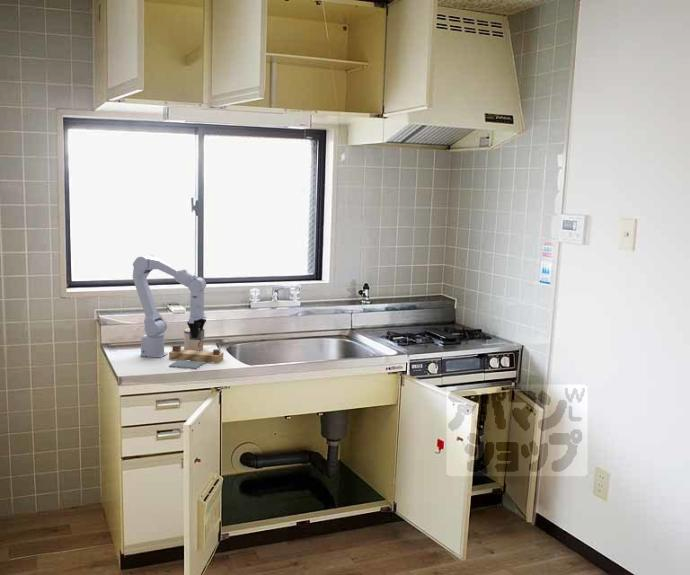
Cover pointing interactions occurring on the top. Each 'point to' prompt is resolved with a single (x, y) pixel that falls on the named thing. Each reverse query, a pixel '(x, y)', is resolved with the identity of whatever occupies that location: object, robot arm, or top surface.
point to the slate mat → (187, 364)
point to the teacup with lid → (191, 342)
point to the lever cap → (200, 335)
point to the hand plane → (195, 355)
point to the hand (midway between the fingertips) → (196, 336)
